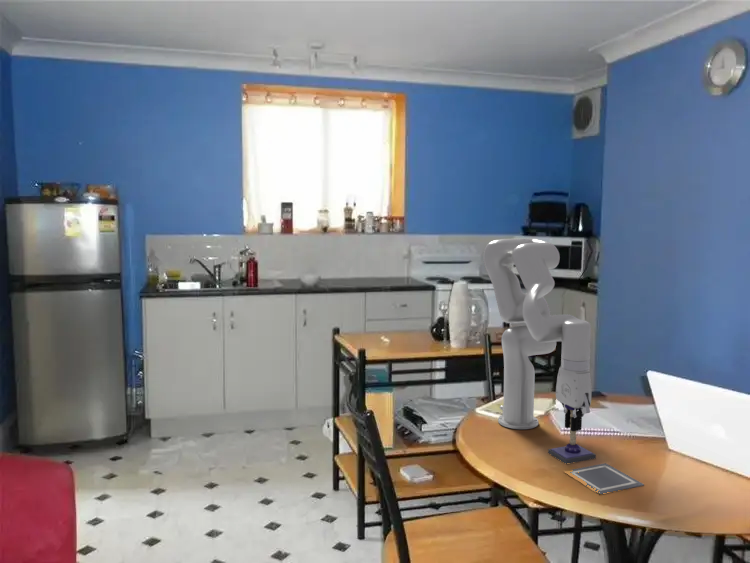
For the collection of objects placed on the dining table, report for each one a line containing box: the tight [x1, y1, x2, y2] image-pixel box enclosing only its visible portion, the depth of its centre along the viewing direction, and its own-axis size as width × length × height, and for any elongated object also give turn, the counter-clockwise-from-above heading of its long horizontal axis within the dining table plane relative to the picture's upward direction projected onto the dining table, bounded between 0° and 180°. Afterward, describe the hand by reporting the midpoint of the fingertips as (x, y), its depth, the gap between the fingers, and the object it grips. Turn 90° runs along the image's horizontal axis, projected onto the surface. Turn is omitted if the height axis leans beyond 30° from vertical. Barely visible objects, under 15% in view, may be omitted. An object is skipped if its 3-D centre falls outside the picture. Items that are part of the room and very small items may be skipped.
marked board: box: [570, 462, 645, 495], centre depth 166 cm, size 14×14×1 cm
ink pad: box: [547, 443, 597, 465], centre depth 181 cm, size 8×10×2 cm
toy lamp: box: [565, 404, 581, 453], centre depth 180 cm, size 5×5×17 cm
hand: (573, 428), depth 180 cm, fingers closed on toy lamp
